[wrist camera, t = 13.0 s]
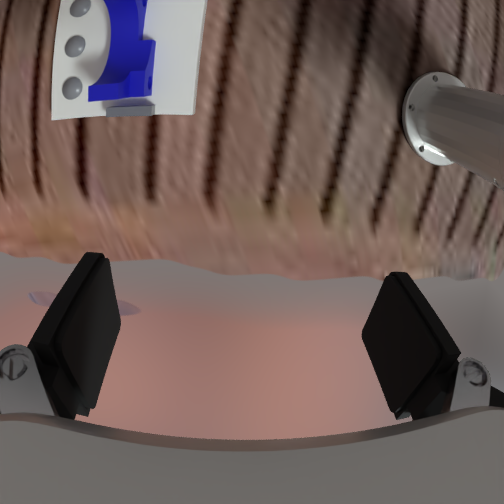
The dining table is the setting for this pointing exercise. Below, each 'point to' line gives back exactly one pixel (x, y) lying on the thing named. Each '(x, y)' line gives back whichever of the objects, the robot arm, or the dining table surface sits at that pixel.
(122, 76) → the cable clip
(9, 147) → the dining table surface
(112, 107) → the white square board
